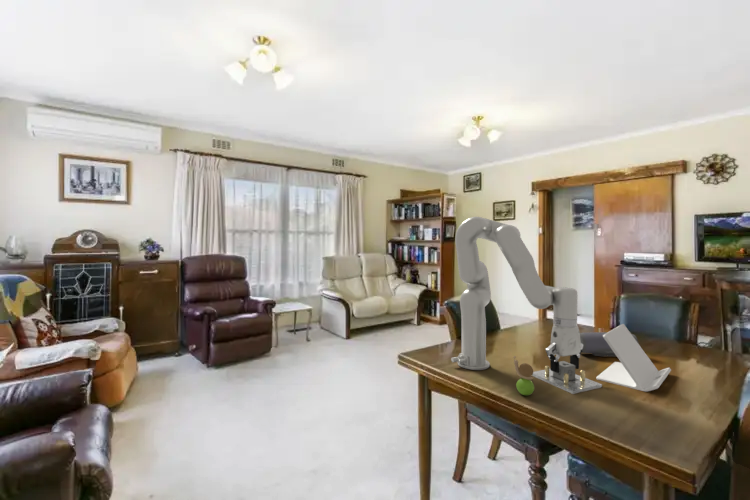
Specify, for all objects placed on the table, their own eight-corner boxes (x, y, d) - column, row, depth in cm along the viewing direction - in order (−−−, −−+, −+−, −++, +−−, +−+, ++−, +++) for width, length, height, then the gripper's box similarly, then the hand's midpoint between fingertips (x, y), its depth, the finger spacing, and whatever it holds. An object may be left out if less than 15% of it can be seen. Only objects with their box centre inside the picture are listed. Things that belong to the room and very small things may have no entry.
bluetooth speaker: (626, 352, 161) (627, 330, 160) (639, 359, 152) (640, 335, 151) (573, 351, 163) (573, 329, 163) (583, 358, 154) (583, 334, 153)
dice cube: (564, 381, 126) (564, 367, 126) (553, 376, 131) (553, 362, 131) (575, 379, 128) (575, 365, 127) (563, 374, 132) (564, 360, 132)
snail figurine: (516, 389, 122) (516, 354, 122) (536, 394, 118) (536, 358, 118) (510, 394, 118) (511, 358, 118) (531, 399, 114) (531, 362, 114)
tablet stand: (595, 379, 131) (596, 333, 130) (615, 363, 147) (615, 322, 147) (658, 395, 117) (658, 343, 117) (671, 375, 134) (672, 330, 134)
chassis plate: (572, 393, 118) (572, 380, 118) (530, 374, 135) (530, 363, 135) (602, 387, 123) (602, 374, 123) (557, 369, 140) (557, 358, 140)
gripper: (556, 326, 122) (555, 376, 122) (591, 322, 128) (591, 369, 129) (538, 322, 129) (538, 369, 129) (573, 318, 135) (572, 363, 136)
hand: (564, 369), depth 129 cm, fingers open, 9 cm apart
